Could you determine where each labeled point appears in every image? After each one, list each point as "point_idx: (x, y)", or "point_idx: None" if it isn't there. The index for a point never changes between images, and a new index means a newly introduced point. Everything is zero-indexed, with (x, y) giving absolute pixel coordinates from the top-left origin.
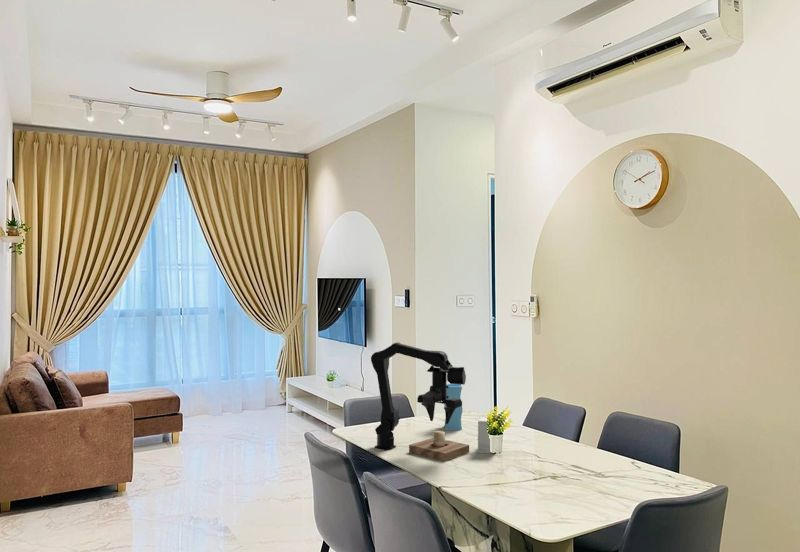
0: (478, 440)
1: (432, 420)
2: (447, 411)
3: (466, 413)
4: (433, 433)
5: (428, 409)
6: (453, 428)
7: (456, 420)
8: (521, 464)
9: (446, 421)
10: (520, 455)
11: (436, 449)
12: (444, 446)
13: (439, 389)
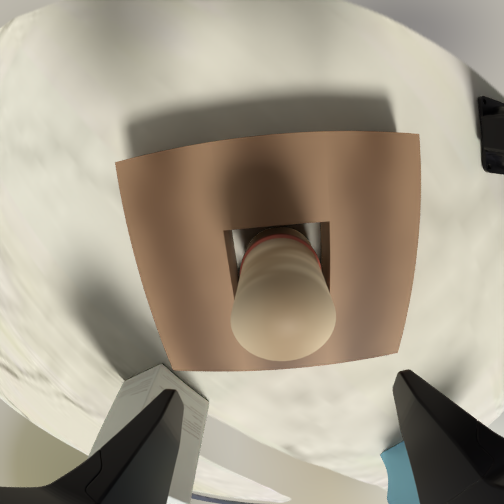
0: (144, 399)
1: (394, 387)
2: (57, 494)
3: None
4: (320, 283)
5: (487, 463)
6: (400, 447)
7: (398, 468)
8: (24, 329)
9: (151, 405)
10: (87, 393)
11: (209, 177)
12: (229, 270)
13: None
